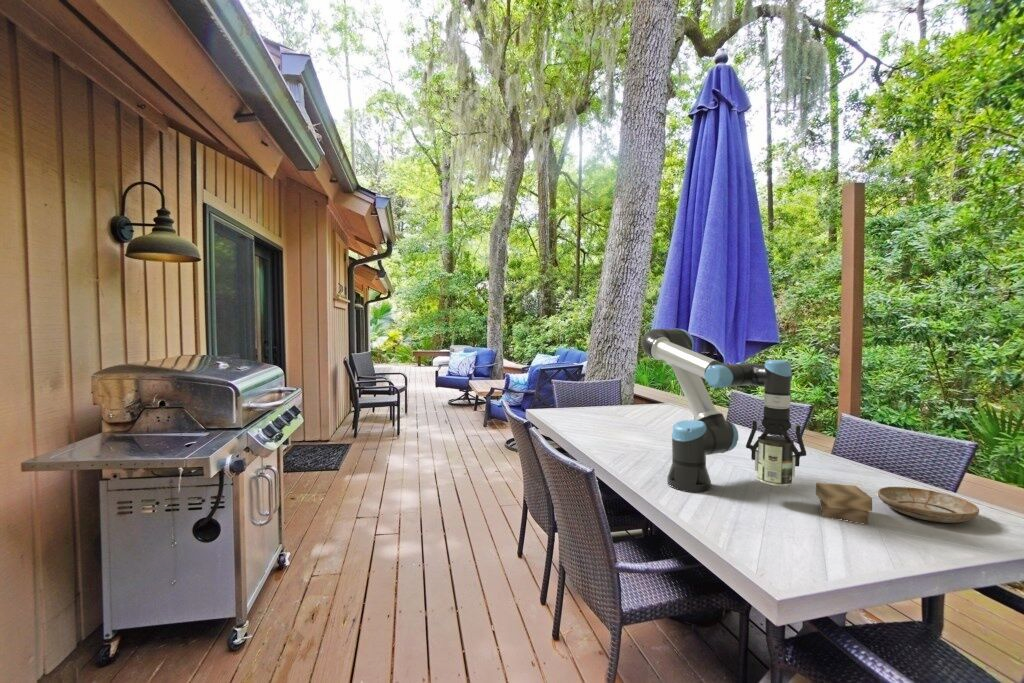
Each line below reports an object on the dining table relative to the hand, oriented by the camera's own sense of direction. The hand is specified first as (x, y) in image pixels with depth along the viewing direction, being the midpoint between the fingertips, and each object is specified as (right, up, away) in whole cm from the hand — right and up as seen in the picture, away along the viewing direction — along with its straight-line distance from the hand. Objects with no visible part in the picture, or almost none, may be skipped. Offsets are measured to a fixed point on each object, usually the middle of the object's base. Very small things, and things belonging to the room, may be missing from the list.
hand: (774, 472), depth 150 cm
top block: (+16, -7, -10) cm, 20 cm away
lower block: (+16, -11, -10) cm, 21 cm away
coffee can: (0, -3, 0) cm, 3 cm away
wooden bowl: (+41, -10, -10) cm, 44 cm away
